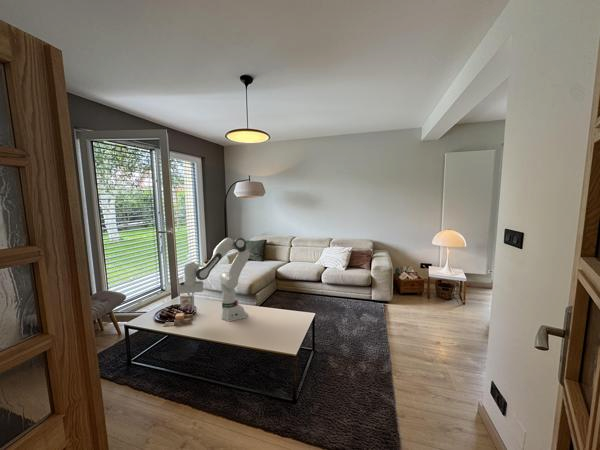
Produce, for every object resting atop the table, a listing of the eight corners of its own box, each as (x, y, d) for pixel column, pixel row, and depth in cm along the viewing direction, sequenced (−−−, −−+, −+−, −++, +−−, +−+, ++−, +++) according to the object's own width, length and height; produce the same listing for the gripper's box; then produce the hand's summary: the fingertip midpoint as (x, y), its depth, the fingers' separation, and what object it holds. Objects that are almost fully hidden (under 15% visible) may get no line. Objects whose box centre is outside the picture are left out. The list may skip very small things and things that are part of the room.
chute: (193, 318, 219) (192, 314, 219) (191, 323, 209) (190, 319, 209) (166, 321, 214) (166, 316, 214) (163, 326, 204) (163, 322, 204)
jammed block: (184, 319, 215) (184, 312, 215) (183, 322, 210) (182, 315, 210) (177, 320, 214) (176, 313, 213) (175, 323, 209) (175, 316, 208)
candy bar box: (180, 313, 229) (179, 296, 228) (183, 311, 234) (182, 294, 233) (191, 313, 228) (191, 296, 227) (194, 311, 233) (194, 294, 232)
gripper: (204, 279, 217) (204, 295, 218) (178, 281, 212) (179, 297, 213) (202, 281, 211) (203, 297, 212) (176, 283, 206) (177, 299, 207)
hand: (191, 297), depth 212 cm, fingers closed
